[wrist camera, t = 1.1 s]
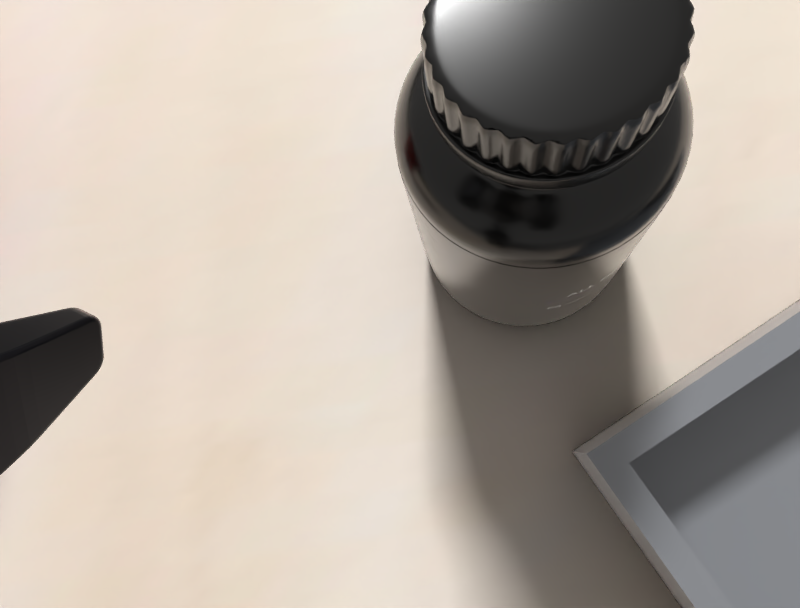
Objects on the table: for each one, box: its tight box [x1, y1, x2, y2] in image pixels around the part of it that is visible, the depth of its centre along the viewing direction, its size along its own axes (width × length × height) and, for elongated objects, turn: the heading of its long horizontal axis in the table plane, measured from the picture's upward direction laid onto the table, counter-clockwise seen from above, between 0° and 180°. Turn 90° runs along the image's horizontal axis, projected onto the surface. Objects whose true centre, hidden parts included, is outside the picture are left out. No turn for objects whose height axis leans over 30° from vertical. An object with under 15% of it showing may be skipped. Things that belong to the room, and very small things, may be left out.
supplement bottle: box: [394, 0, 695, 326], centre depth 17 cm, size 7×7×12 cm
